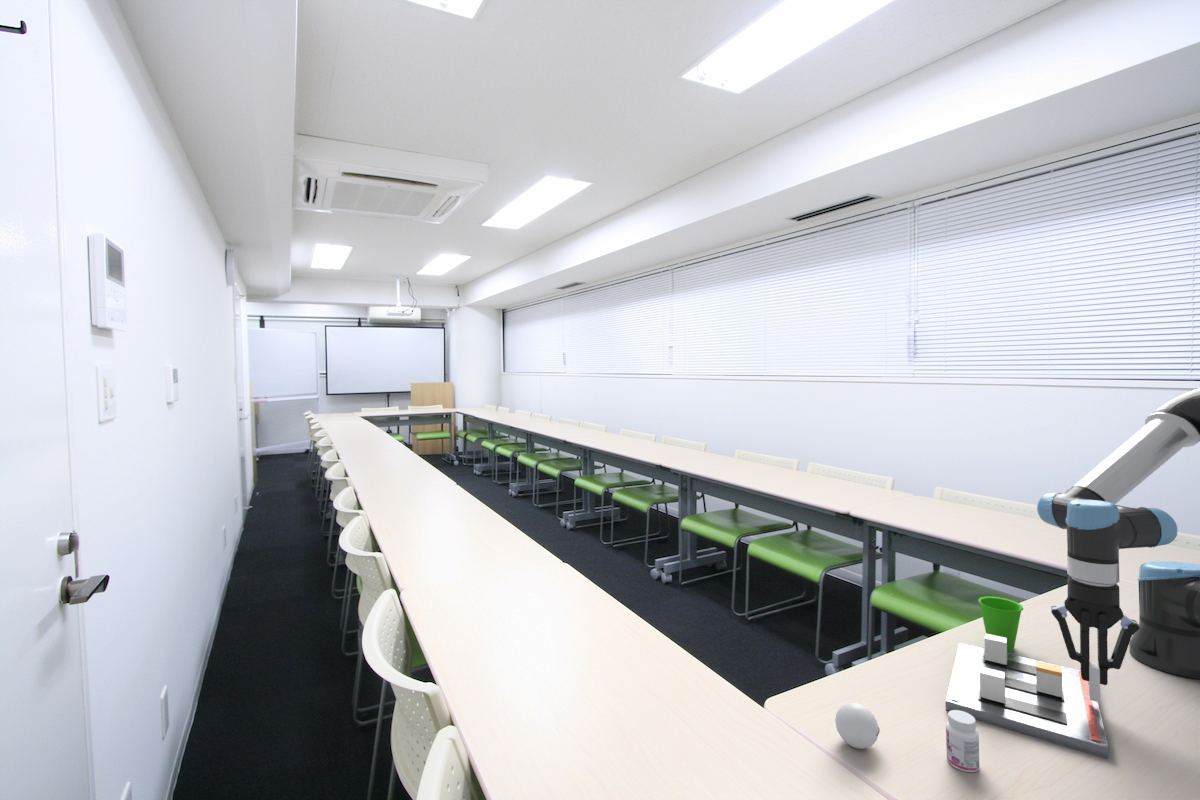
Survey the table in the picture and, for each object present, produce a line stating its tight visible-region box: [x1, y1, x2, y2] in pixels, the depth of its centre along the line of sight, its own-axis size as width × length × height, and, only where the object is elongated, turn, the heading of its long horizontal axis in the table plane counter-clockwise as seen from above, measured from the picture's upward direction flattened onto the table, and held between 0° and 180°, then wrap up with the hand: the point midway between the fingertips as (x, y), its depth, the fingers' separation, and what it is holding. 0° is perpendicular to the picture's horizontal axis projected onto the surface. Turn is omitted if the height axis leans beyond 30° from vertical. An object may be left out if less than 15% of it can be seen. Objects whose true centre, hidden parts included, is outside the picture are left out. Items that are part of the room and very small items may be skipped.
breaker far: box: [984, 632, 1008, 665], centre depth 122 cm, size 4×3×5 cm
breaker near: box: [980, 666, 1005, 703], centre depth 108 cm, size 4×3×5 cm
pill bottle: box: [945, 710, 980, 773], centre depth 93 cm, size 5×5×8 cm
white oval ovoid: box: [834, 702, 881, 750], centre depth 100 cm, size 10×7×7 cm
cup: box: [977, 595, 1024, 653], centre depth 132 cm, size 9×9×11 cm
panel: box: [945, 642, 1109, 759], centre depth 112 cm, size 24×30×2 cm
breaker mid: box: [1036, 660, 1062, 697], centre depth 109 cm, size 4×3×5 cm
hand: (1094, 697), depth 105 cm, fingers closed
